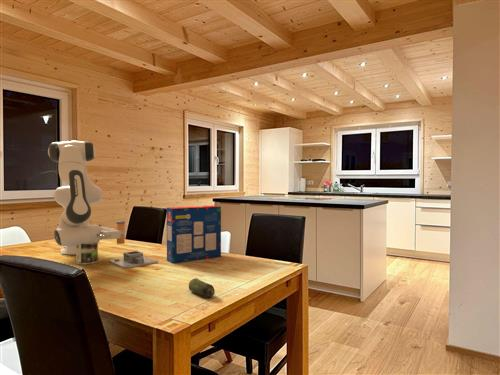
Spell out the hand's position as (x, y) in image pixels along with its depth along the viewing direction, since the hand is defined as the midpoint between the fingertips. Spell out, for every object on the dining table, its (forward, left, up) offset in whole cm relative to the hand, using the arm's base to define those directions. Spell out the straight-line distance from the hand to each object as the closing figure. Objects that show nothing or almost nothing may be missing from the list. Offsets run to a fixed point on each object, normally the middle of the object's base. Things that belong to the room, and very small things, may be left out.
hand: (122, 231), depth 173 cm
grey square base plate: (0, +6, -17) cm, 18 cm away
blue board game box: (+14, +34, -17) cm, 40 cm away
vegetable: (+65, +2, -17) cm, 67 cm away
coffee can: (-17, -11, -17) cm, 27 cm away
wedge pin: (0, -1, -6) cm, 6 cm away
